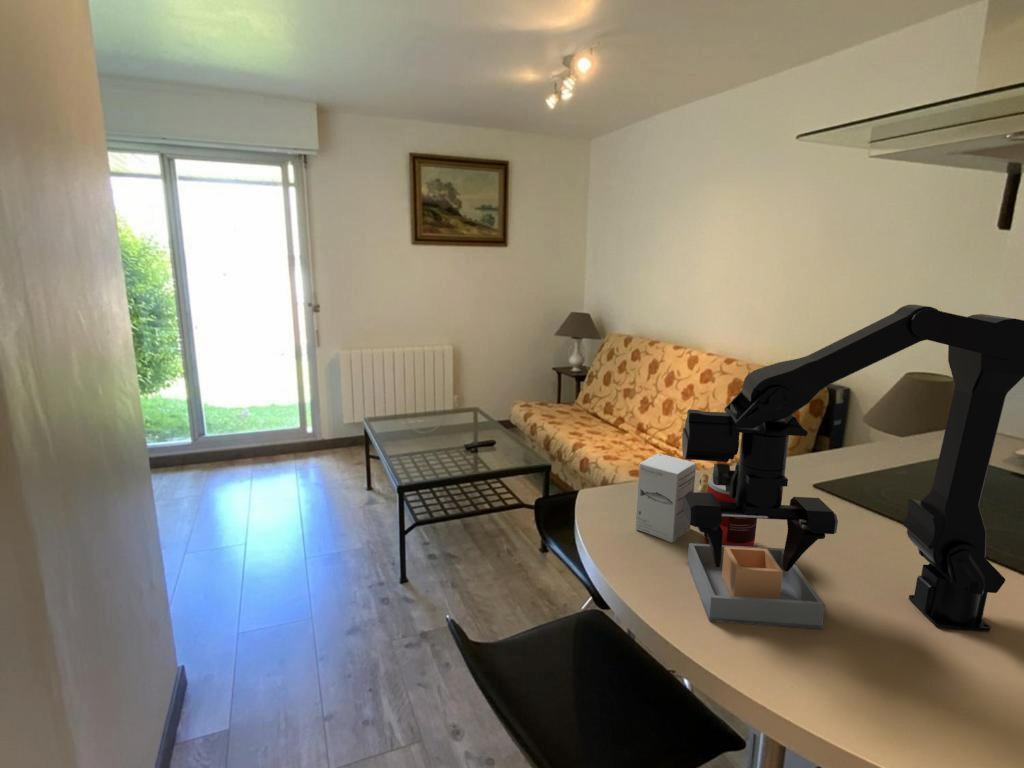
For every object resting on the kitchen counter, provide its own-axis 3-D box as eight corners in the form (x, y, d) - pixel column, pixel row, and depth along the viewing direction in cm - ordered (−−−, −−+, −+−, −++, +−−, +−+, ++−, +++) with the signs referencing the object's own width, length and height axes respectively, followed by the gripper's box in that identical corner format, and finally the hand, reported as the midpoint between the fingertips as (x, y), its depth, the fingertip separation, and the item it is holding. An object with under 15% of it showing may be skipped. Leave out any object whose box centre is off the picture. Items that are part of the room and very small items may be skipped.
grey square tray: (781, 569, 83) (783, 548, 82) (821, 629, 69) (825, 605, 68) (687, 563, 84) (689, 543, 84) (709, 621, 71) (711, 597, 70)
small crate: (763, 579, 79) (767, 548, 78) (779, 604, 73) (783, 571, 72) (721, 577, 80) (724, 546, 79) (733, 602, 74) (736, 569, 73)
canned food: (712, 528, 96) (717, 470, 93) (759, 543, 91) (766, 481, 88) (695, 545, 90) (701, 483, 87) (745, 562, 85) (752, 497, 83)
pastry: (744, 490, 112) (746, 473, 112) (748, 503, 106) (750, 485, 105) (697, 485, 115) (698, 468, 114) (698, 498, 109) (700, 480, 108)
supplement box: (633, 530, 95) (637, 462, 92) (654, 516, 100) (658, 451, 98) (672, 544, 90) (677, 473, 87) (692, 529, 95) (697, 461, 93)
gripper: (809, 446, 79) (797, 543, 83) (679, 441, 81) (672, 536, 85) (846, 475, 68) (831, 584, 72) (695, 468, 71) (687, 576, 74)
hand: (750, 567), depth 76 cm, fingers open, 9 cm apart
